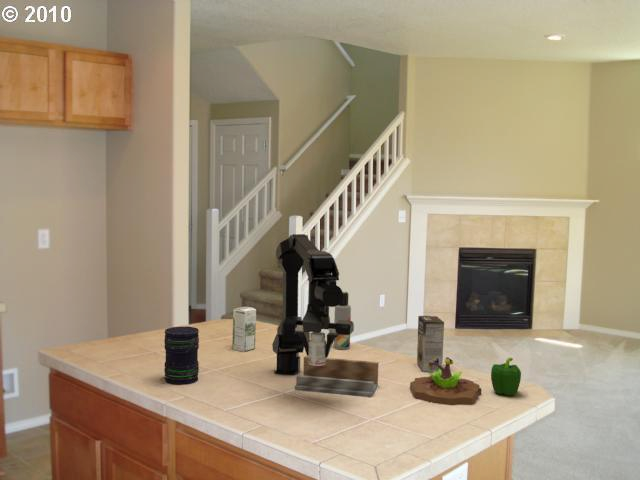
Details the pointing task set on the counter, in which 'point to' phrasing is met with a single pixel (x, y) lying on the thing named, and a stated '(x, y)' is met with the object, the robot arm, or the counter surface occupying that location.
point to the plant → (445, 387)
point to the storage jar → (181, 355)
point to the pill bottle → (317, 349)
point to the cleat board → (339, 377)
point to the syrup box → (244, 329)
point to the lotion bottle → (342, 314)
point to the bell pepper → (505, 378)
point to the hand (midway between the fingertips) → (317, 356)
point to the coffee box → (430, 342)
